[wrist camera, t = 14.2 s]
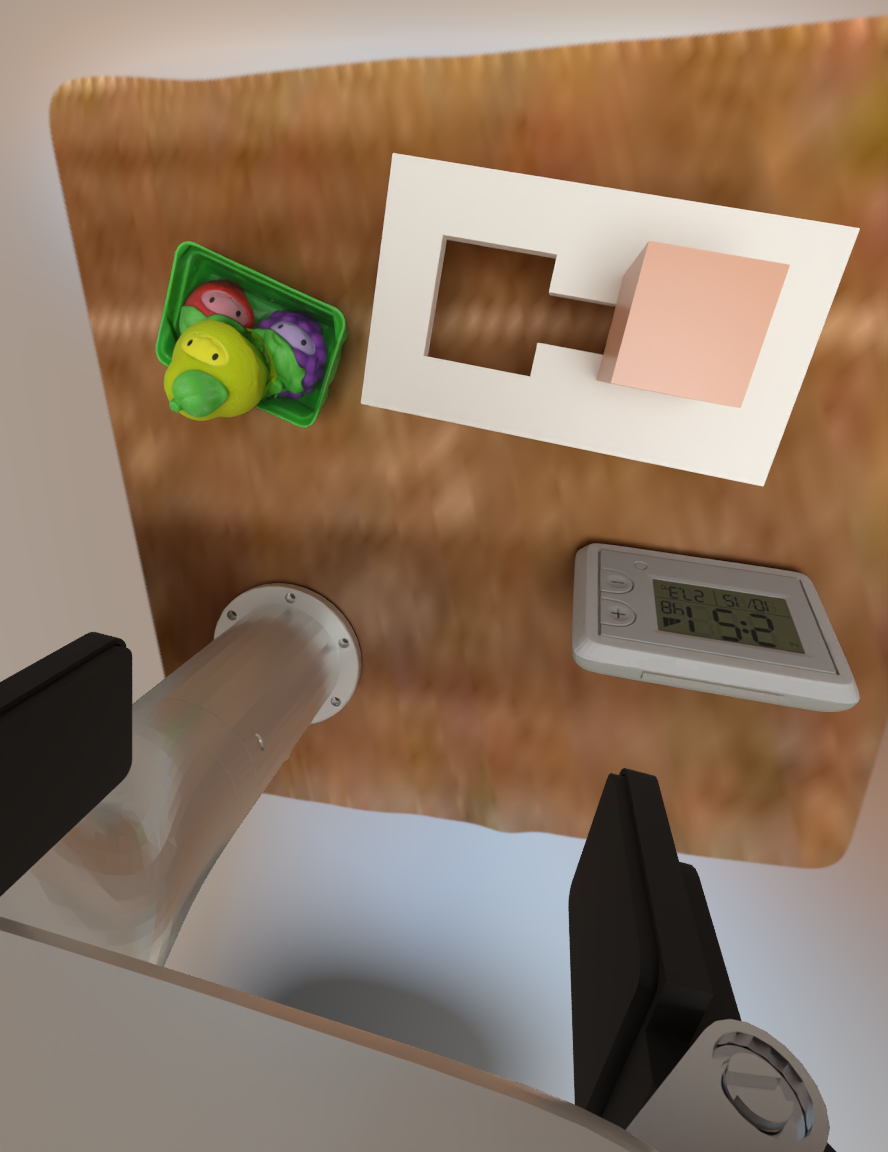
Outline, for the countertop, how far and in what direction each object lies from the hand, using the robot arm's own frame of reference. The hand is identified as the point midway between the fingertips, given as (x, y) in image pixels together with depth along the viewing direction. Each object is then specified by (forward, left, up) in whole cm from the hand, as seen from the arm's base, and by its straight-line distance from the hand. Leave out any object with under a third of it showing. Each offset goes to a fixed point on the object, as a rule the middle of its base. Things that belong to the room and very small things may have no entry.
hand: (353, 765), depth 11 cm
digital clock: (-5, -15, -34) cm, 37 cm away
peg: (+10, -7, -28) cm, 30 cm away
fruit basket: (+6, +17, -34) cm, 38 cm away
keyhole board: (+10, -3, -33) cm, 35 cm away
